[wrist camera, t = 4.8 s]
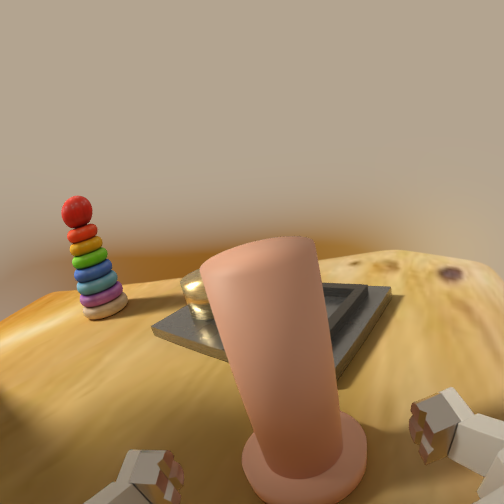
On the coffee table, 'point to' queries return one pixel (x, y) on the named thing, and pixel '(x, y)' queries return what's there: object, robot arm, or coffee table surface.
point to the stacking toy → (91, 263)
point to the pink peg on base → (285, 371)
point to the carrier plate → (337, 306)
